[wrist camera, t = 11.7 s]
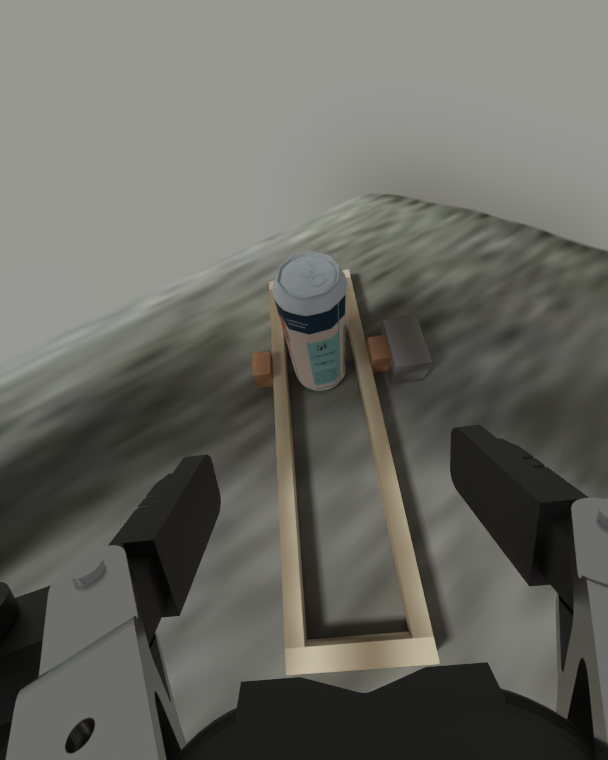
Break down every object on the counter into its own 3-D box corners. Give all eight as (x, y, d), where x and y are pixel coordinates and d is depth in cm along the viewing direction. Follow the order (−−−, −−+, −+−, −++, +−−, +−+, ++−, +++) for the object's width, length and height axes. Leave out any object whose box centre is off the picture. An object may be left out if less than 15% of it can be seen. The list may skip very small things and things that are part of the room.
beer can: (317, 342, 30) (304, 237, 20) (356, 366, 28) (363, 265, 18) (286, 375, 29) (253, 281, 18) (324, 403, 27) (311, 316, 16)
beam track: (264, 667, 19) (251, 688, 16) (257, 293, 34) (250, 273, 32) (510, 648, 18) (539, 668, 15) (389, 273, 33) (393, 250, 31)
